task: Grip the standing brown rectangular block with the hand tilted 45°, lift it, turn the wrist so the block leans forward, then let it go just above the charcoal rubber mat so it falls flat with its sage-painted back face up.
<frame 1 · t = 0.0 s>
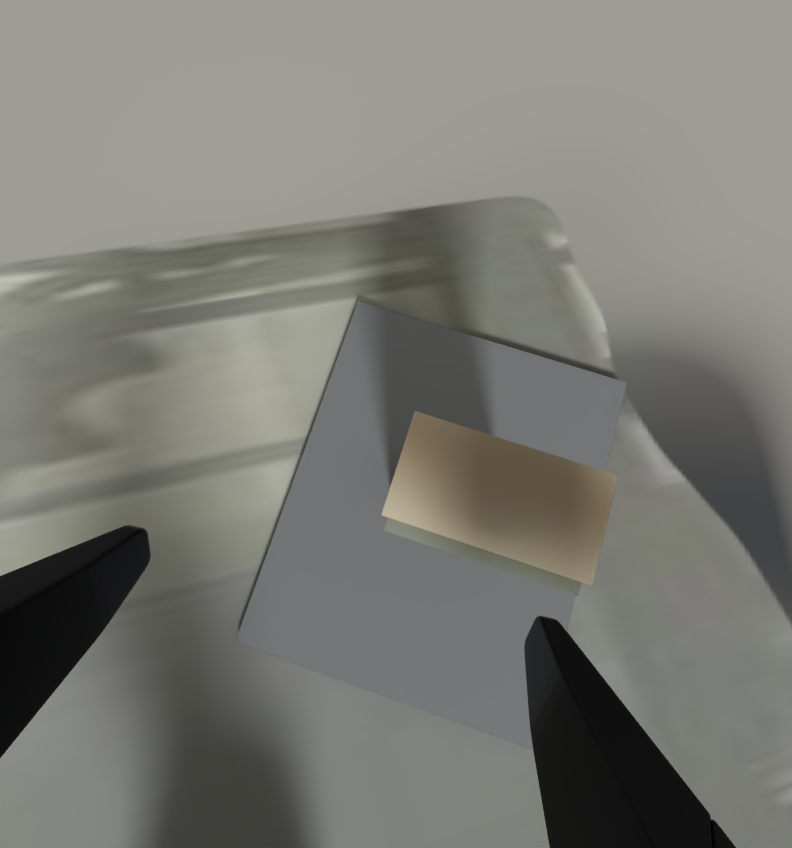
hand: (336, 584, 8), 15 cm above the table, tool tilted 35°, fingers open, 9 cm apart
brown rectangular block: (444, 490, 23), point 1 cm above the table, touching rubber mat
rubber mat: (438, 505, 23), on the table
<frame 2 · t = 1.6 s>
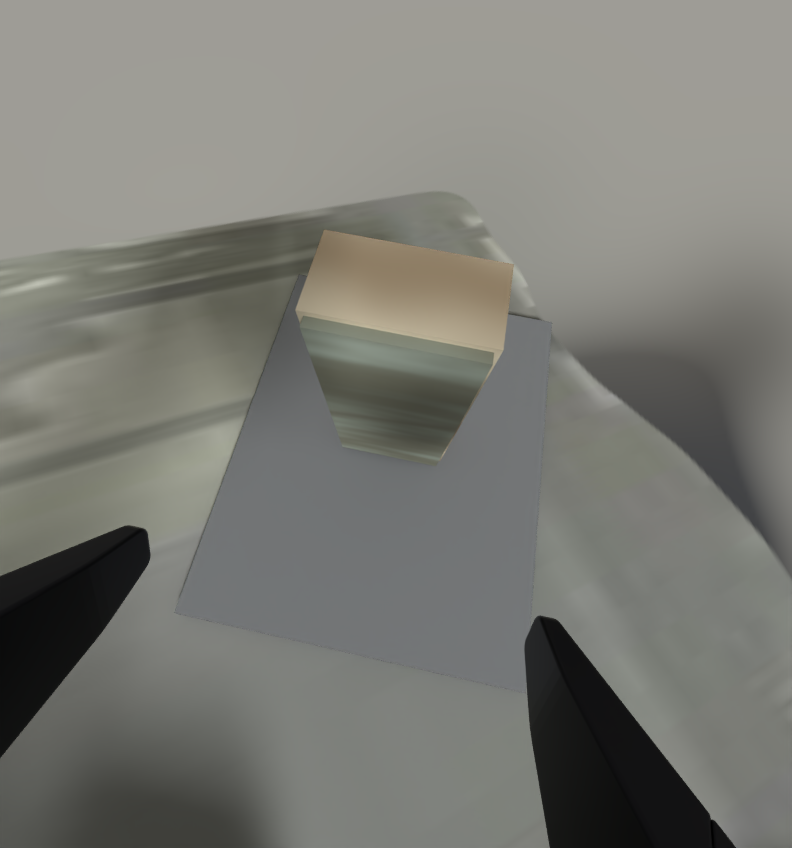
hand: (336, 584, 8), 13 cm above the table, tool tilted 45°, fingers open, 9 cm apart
brown rectangular block: (394, 430, 23), point 1 cm above the table, touching rubber mat
rubber mat: (391, 448, 23), on the table
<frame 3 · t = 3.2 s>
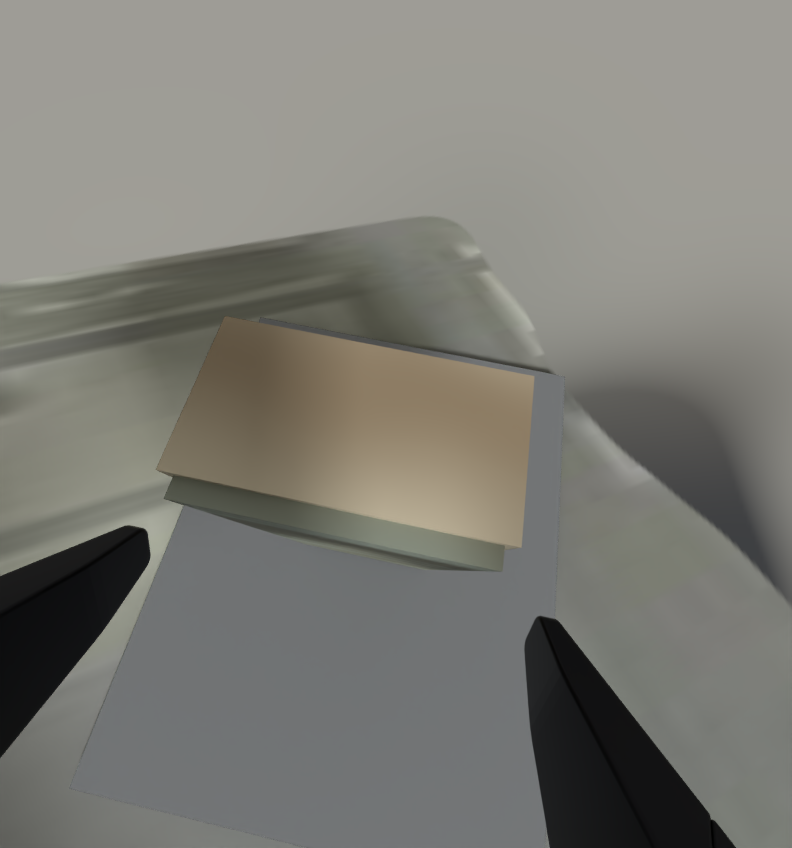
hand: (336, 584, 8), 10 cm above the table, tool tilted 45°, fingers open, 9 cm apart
brown rectangular block: (372, 519, 18), point 1 cm above the table, touching rubber mat
rubber mat: (367, 541, 18), on the table
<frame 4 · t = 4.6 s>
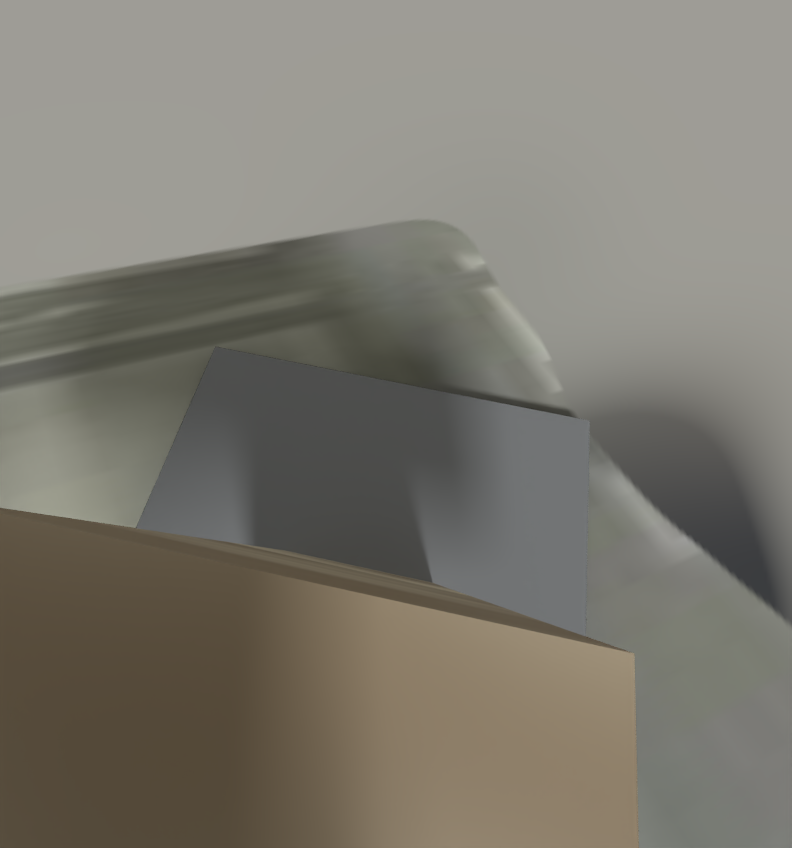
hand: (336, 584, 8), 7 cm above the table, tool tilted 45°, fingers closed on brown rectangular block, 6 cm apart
brown rectangular block: (346, 615, 14), point 1 cm above the table, touching gripper, rubber mat
rubber mat: (341, 641, 14), on the table
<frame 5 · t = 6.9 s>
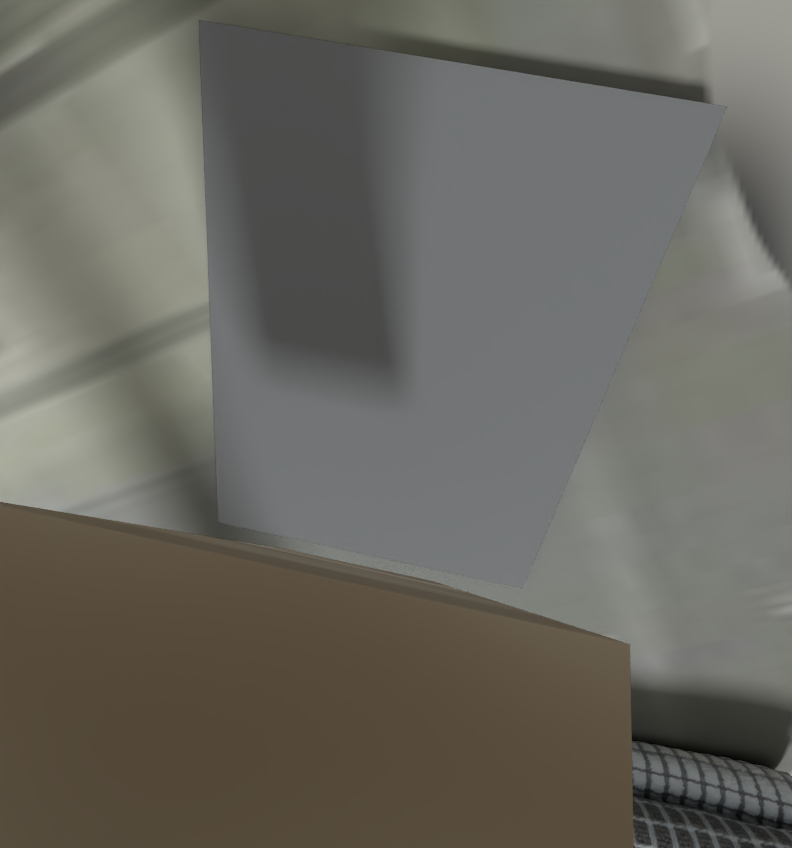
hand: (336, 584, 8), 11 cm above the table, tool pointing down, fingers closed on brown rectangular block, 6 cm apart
brown rectangular block: (347, 613, 14), point 7 cm above the table, tilted 45°, touching gripper
rubber mat: (401, 370, 18), on the table
towel: (633, 794, 30), on the table
when the fingers open (7 cm above the table, at t = 8.4 s): brown rectangular block drops 1 cm and tips over, resting on rubber mat.
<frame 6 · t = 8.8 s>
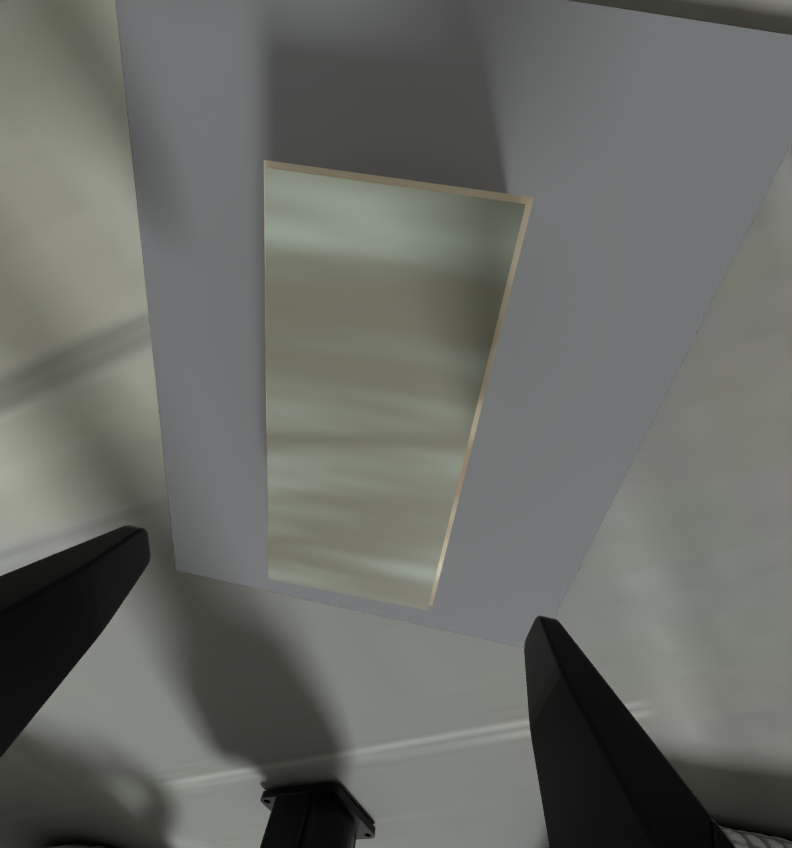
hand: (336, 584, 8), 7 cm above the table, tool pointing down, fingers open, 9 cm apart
brown rectangular block: (357, 561, 15), point 2 cm above the table, tilted 90°, touching rubber mat
rubber mat: (391, 396, 14), on the table
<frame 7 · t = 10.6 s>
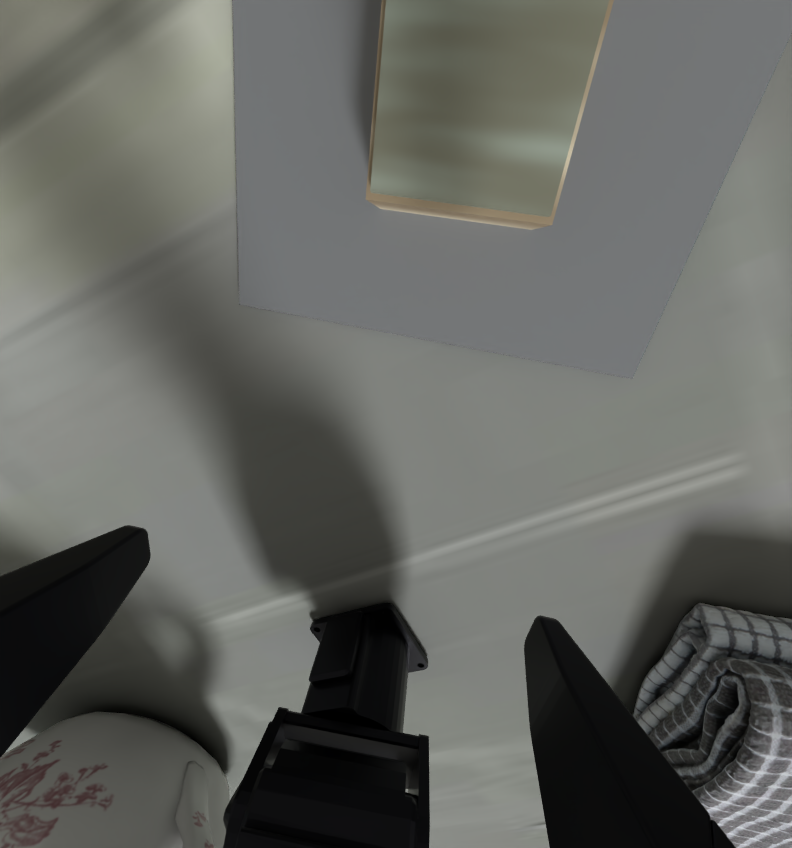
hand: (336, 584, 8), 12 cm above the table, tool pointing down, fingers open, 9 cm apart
brown rectangular block: (456, 215, 13), point 2 cm above the table, tilted 90°, touching rubber mat
rubber mat: (497, 16, 13), on the table
chamber pot: (155, 748, 39), on the table
towel: (742, 694, 26), on the table
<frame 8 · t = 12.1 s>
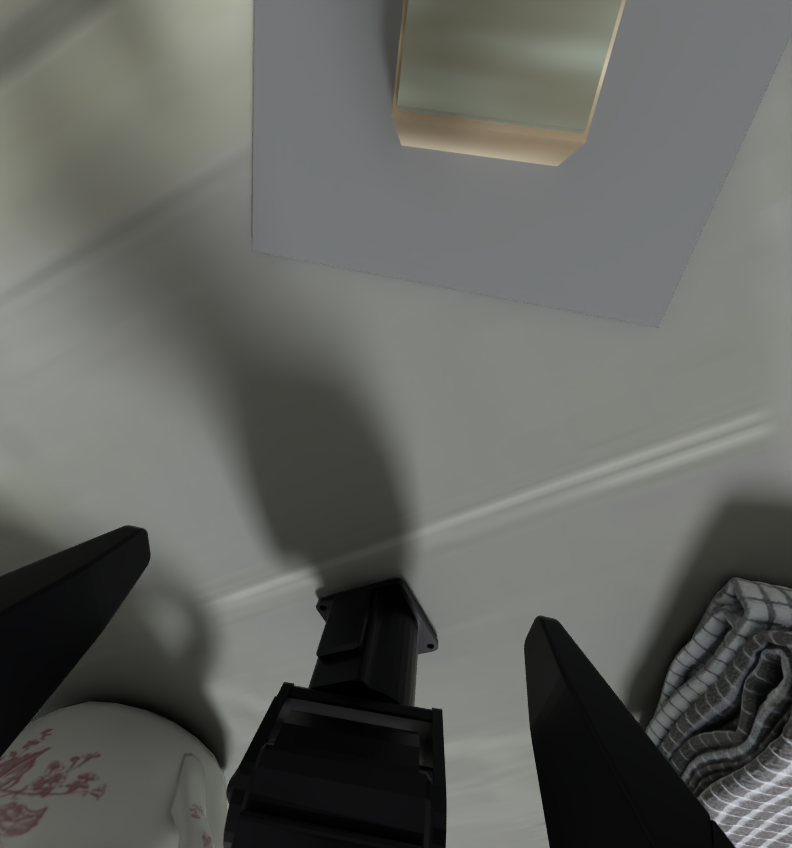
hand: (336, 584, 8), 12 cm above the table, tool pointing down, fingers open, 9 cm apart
brown rectangular block: (482, 142, 13), point 2 cm above the table, tilted 90°, touching rubber mat
chamber pot: (150, 743, 37), on the table
towel: (771, 679, 25), on the table
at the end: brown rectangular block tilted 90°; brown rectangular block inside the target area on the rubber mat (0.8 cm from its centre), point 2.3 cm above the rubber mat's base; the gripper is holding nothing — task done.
